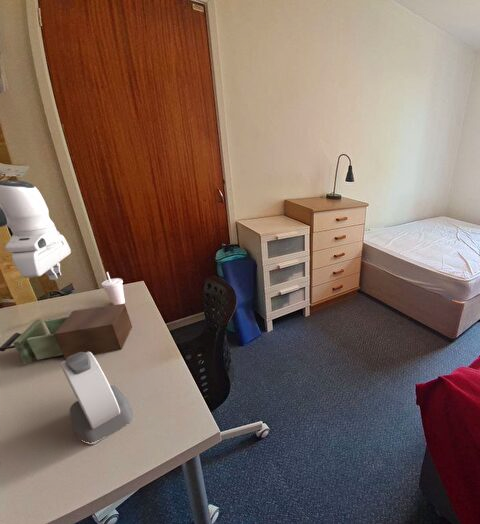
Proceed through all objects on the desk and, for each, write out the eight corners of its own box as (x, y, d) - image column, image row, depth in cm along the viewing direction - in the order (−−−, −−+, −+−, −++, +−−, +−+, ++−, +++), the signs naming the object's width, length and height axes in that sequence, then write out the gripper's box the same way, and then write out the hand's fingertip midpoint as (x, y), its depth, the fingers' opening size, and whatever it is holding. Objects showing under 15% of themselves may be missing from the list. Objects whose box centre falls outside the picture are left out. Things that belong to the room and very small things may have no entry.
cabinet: (65, 360, 83) (53, 334, 79) (83, 335, 94) (73, 310, 90) (121, 349, 88) (112, 324, 84) (132, 326, 99) (124, 303, 95)
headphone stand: (141, 421, 66) (119, 362, 59) (85, 457, 59) (51, 393, 51) (118, 387, 75) (95, 331, 68) (66, 414, 67) (35, 354, 60)
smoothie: (104, 306, 110) (93, 273, 104) (120, 298, 115) (110, 267, 110) (117, 308, 108) (106, 276, 103) (133, 300, 114) (123, 269, 109)
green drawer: (1, 368, 78) (-13, 346, 75) (25, 343, 88) (14, 322, 85) (80, 353, 84) (71, 332, 81) (94, 331, 94) (87, 312, 91)
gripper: (43, 228, 91) (59, 266, 97) (0, 249, 74) (23, 294, 79) (68, 226, 93) (82, 264, 99) (32, 246, 76) (52, 291, 82)
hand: (56, 278), depth 89 cm, fingers closed
